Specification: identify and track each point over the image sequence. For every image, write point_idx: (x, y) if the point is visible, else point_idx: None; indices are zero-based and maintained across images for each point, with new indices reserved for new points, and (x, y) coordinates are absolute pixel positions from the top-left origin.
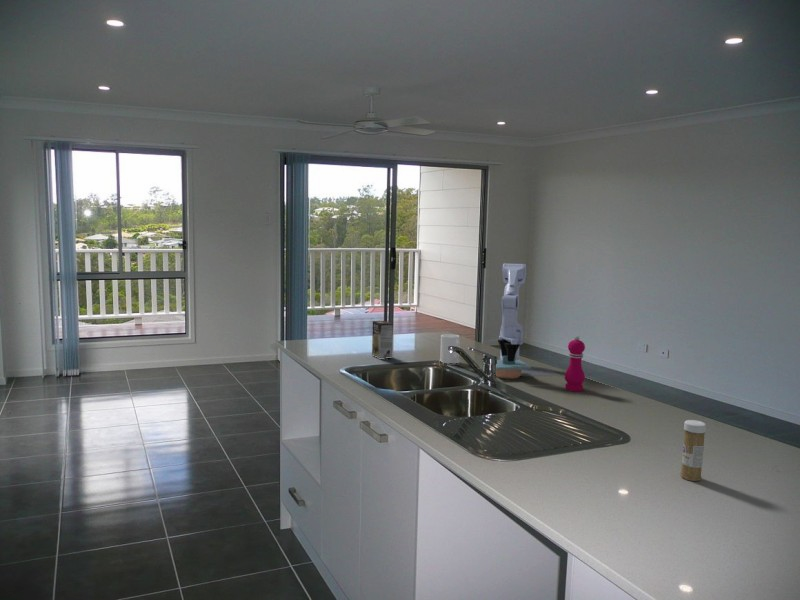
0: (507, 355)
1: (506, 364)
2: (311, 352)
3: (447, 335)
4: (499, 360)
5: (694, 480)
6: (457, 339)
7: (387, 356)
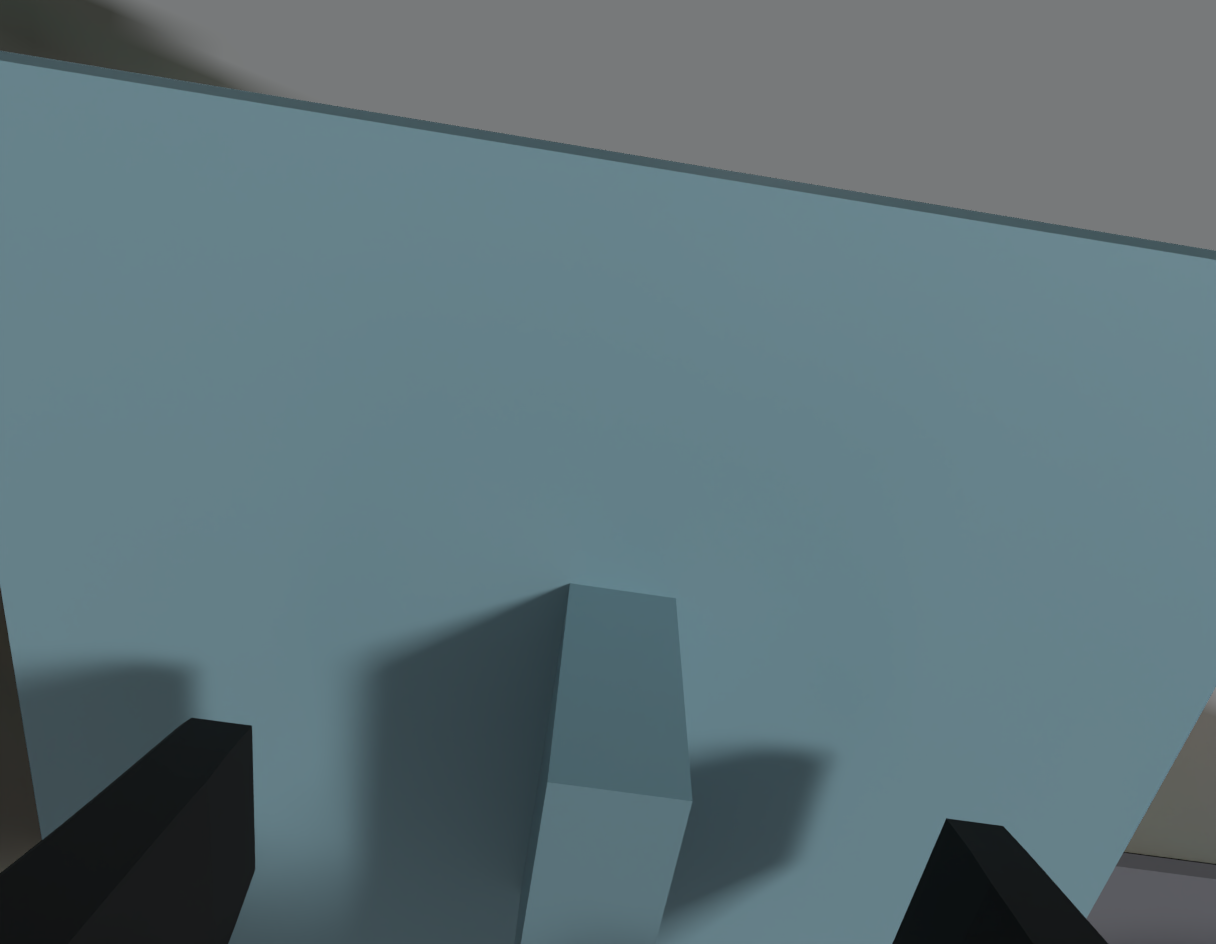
0: (48, 885)
1: (455, 643)
2: None
3: None
4: (1117, 700)
5: None
6: None
7: None
